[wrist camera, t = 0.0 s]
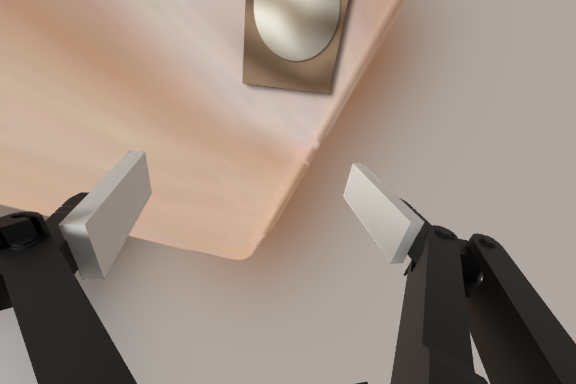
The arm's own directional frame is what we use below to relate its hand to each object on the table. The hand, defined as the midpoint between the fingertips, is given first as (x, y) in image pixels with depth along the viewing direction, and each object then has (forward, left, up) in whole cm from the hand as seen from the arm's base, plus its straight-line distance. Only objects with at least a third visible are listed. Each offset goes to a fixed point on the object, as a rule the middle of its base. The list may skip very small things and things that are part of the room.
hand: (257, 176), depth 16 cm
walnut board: (-12, +7, -28) cm, 31 cm away
